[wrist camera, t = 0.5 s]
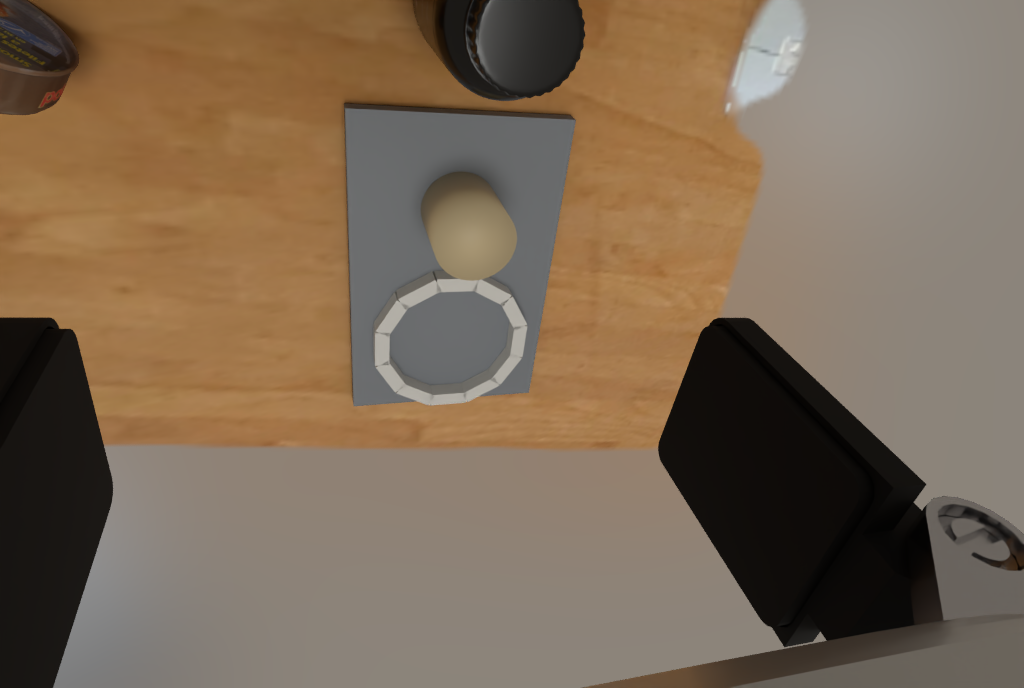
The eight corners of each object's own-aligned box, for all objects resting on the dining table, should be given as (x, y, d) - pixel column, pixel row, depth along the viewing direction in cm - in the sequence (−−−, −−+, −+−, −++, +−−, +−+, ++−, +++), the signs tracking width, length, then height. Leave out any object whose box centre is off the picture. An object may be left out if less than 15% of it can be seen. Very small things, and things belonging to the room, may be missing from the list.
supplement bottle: (543, -57, 34) (634, -34, 25) (514, 74, 38) (584, 136, 29) (419, -92, 32) (468, -82, 23) (400, 51, 36) (436, 111, 26)
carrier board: (344, 103, 36) (350, 135, 32) (570, 115, 40) (605, 145, 36) (352, 397, 49) (358, 452, 44) (525, 384, 53) (547, 433, 48)
